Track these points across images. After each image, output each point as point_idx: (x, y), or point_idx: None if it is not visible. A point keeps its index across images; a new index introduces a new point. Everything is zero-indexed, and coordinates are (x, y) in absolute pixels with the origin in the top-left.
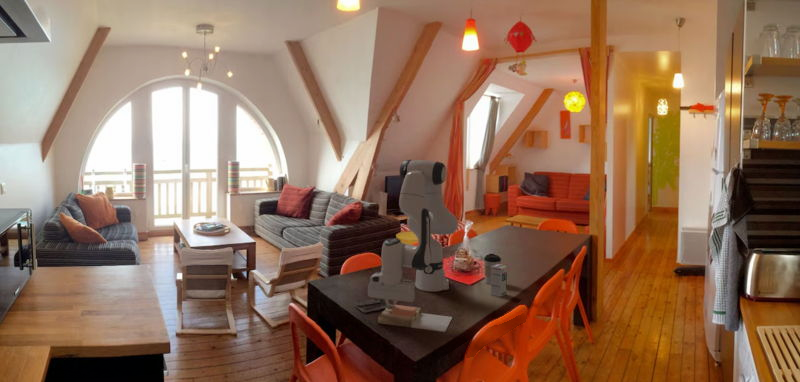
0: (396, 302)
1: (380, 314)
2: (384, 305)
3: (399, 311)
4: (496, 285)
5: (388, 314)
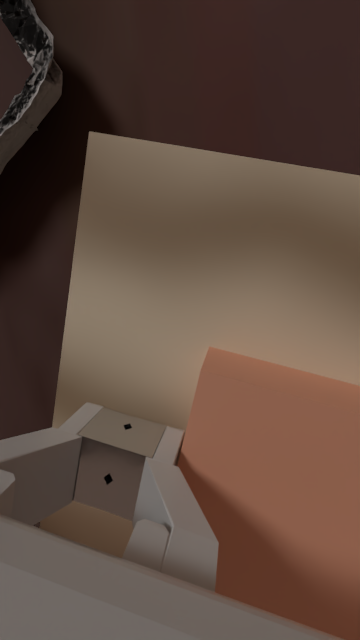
0: (200, 529)
1: (40, 525)
2: (27, 103)
3: (272, 607)
4: None
5: (127, 527)
